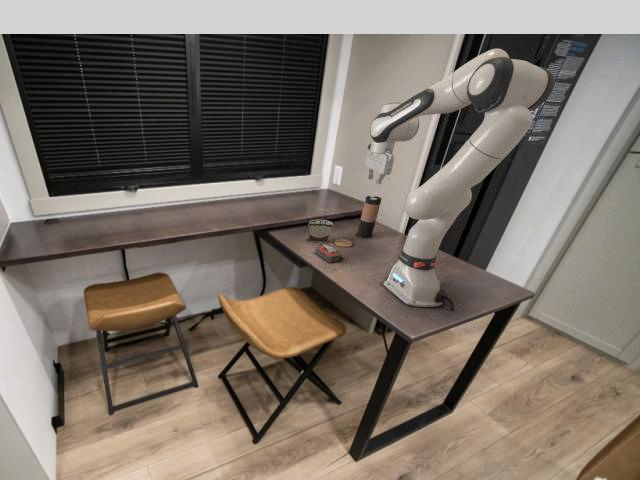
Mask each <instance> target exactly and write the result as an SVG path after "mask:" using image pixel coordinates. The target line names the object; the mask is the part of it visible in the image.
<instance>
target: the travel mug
mask: <svg viewBox="0 0 640 480" xmlns="http://www.w3.org/2000/svg"><path fill="white" fill-rule="evenodd" d="M381 203H382V197H380V196H376V195H374V196H371V195H367V196H366V197H365V200H364V204H363V207H362V212H361V214H360V215H361V216H360V220H359V225H358V229H357V236H358V237H360V238H363V239H364V238H365V239H369V238H371V237H372V235H373V231H374V229H375V226H376V222H377V218H378V215H379V210H380V207H381Z"/></svg>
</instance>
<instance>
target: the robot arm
mask: <svg viewBox="0 0 640 480" xmlns="http://www.w3.org/2000/svg"><path fill="white" fill-rule="evenodd" d="M555 85H556V79H555V76H554V74H553V73H552V72H551V71H550V70H549V69H547V68H545V67H541V66H538V65H535V64H534V63H531V62H529V61H527V60H522V59H516V58H510V56H509V54H508V53H507V52H506V51H505V50H504V49H502V48H492V49H489V50H487V51H485V52H483V53H481V54H479V55H477V56H476V57H474V58H472V59H471V60H468V61H467V62H466V63H464V64H463V65H461V66H460V67H458V68H457V69H455V70H454V71H453V72H452V73H450V74H448V75H447V76H446V77H444V78H442V79H441V80H439V81H438V82H436V83H434V84H432V85H431V86H429V87H427V88H425V89H424V90H422V91H420V92H419V93H416V94H415V95H413V96H411V97H409V98H408V99H406V100H405V101H403V102H388V103H385V104H384V105H383V106H381V109H380V112H379V114H377V115H376V116H375V118H374V119H373V121H372V122H371V123H370V127H369V134H370V137H371V139H372V142H370V143H368V144H367V147H366V149H367V152H366V156H365V160H364V165H365V167H366V168H368V171H367V172H368V176H367V179H368V180H373V179H374V177H375V176H374V172H376V173H378V178H377V179H376V182H375V184H377V185H382V183H383V180H384V178H385V177H386V176H390V175H391V174H392V171H393V166H394V161H395V156H394V154H393V152H394V149H395V144H396V143H398V142H408V141H411V140H412V139H414V137H415V136H416V135H417V133H418V131H419V128H420V118H419V117H422V116H430V115H442V114H443V115H444V114H450V113H451V114H452V113H455V112H457V111H459V110H462V109H464V108H466V107H468V106H469V105H471V104H472V105H473V107H474V110H475V112H476V113H477V114H484V117H483V121H482V122H481V123H480V125H479V126H478V127H477V128H476V130H475V131H474V132H473V133H472V134H471V136H469V138H468V139H467V140H466V141H465V143H464V144H463V145H462V146H461V147H460V148H459V150H458V151H457V152H456V153H455V154H454V155H453V157H452V158H451V159H450V160H449V161H448V162H447V163H446V164H445V165H444V166H442V167H441V168H440V169H439V170H438V171H437V172H436V173H435V174H433V175H432V176H431V177H430V178H429V179H428V180H427V181H425V182H424V183H423V184H422V185H420V186H418V187H417V188H415V189H414V190H412V191H411V192H409V194H408V195H407V196H406V198H405V201H404V205H403V206H404V211H405V213H406V215H407V216H408V217H409V218H411V219H413V220H417V221H416V222H415V224H414V225H412V227H411V228H410V229H409V231H408V233H407V235H406V238H405V242H404V245H403V248H401V250H400V251H399V255H398V260H397V262H396V263H395V264H394V265H393V267H392V268H391V271H390V272H389V276H388V277H387V280H385V281H383V286H384V287H386V289H388V290H389V291H390V292H391V293H392V294H394V295H395V296H396V297H397V298H398V299H399V300H401V301H402V302H403V303H404V304H406V305H409V306H412V307H419V308H435V307H440V306H442V305H443V304H444V303H445V302H446V301H447V302H448V303H449V305H450V311H455V305H454V302H453V300H452V298H450V297H448V294H447V292H446V290H445V289H443V288H441V286H440V285H441V284H442V283H441V282H442V281H441V280H440V279H438V276H437V273H436V271H435V267H437V265H438V262H437V253H438V251H439V249H440V246H441V244H442V242H443V239H444V237H445V236H446V233H447V232H448V230H449V229H450V228H451V226H452V225H453V224H454V223H455V220H456V219H457V217H458V216H459V215H460V214H461V212H463V211H464V210H465V209H466V208H467V207H468V206H469V204H470V203H471V201H472V197H473V193H472V190H471V189H472V188H473V187H475V186H476V185H478V184H480V183H481V182H483V180H484V179H485V178H487V176H488V175H489V174H490V173H491V172H493V170H494V169H495V168H496V167H497V166H499V164H500V163H502V161H503V160H504V159H506V157H507V156H508V155H509V154H510V153H511V152H512V151H513V150H514V149H515V147H516V146H517V145H518V144H519V143H520V142H521V140H522V139H523V137H524V136H525V135H526V134H527V132H528V131H529V130H530V128H531V127H532V124H533V121H534V117H533V114H532V111H534V110H536V109H538V108H540V107H541V106H542V105H543V104H544V103H545V102H546V101H547V100H548V99H549V97H550V96H551V94H552V93H553V91H554V88H555Z"/></svg>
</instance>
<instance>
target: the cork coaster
mask: <svg viewBox="0 0 640 480" xmlns="http://www.w3.org/2000/svg"><path fill="white" fill-rule="evenodd" d="M333 243H334V245H336V246H338V247H341V248H350V247H352V246H353V241H350V240H349V239H344V238H337V239H334V241H333Z"/></svg>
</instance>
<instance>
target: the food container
mask: <svg viewBox="0 0 640 480" xmlns="http://www.w3.org/2000/svg"><path fill="white" fill-rule="evenodd" d="M307 227H309V228H308V242H309V243H319V242H322V243H324V244H325V243H326V244H327V243H329V240H330V239H329V238H330V235H331V232H332V229H333V228H334V223H333V222H332V221H329V220H326V219H321V218H319V219H318V218H316V219H312V220H309V223H308V225H307Z"/></svg>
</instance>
